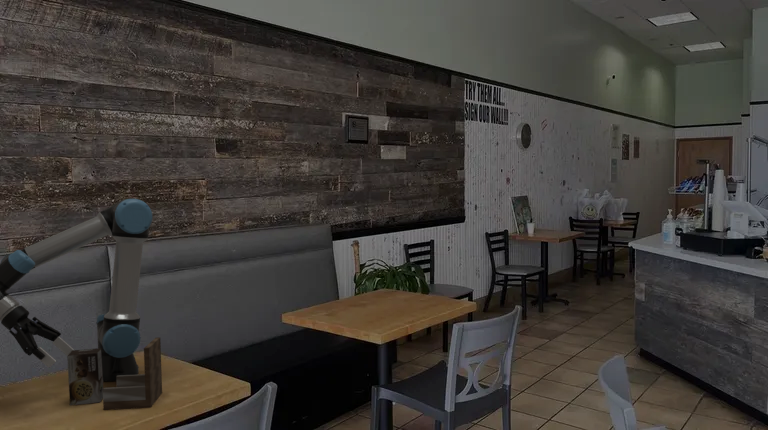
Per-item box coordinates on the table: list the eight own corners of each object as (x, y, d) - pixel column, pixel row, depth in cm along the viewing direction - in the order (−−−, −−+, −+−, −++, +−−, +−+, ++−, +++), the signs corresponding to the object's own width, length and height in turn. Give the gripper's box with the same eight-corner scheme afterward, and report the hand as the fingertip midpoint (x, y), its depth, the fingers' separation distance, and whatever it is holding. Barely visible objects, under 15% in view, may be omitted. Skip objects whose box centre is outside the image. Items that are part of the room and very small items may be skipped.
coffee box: (104, 396, 199) (102, 347, 198) (100, 402, 193) (98, 352, 192) (73, 399, 197) (72, 349, 196) (68, 405, 191) (66, 354, 190)
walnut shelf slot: (118, 395, 200) (116, 339, 199) (162, 392, 202) (160, 337, 201) (103, 410, 186) (101, 350, 185) (150, 407, 188) (148, 348, 187)
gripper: (20, 314, 203) (69, 356, 205) (-21, 331, 178) (35, 379, 180) (37, 297, 203) (85, 340, 206) (-2, 312, 179) (53, 360, 181)
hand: (62, 358), depth 193 cm, fingers open, 13 cm apart
